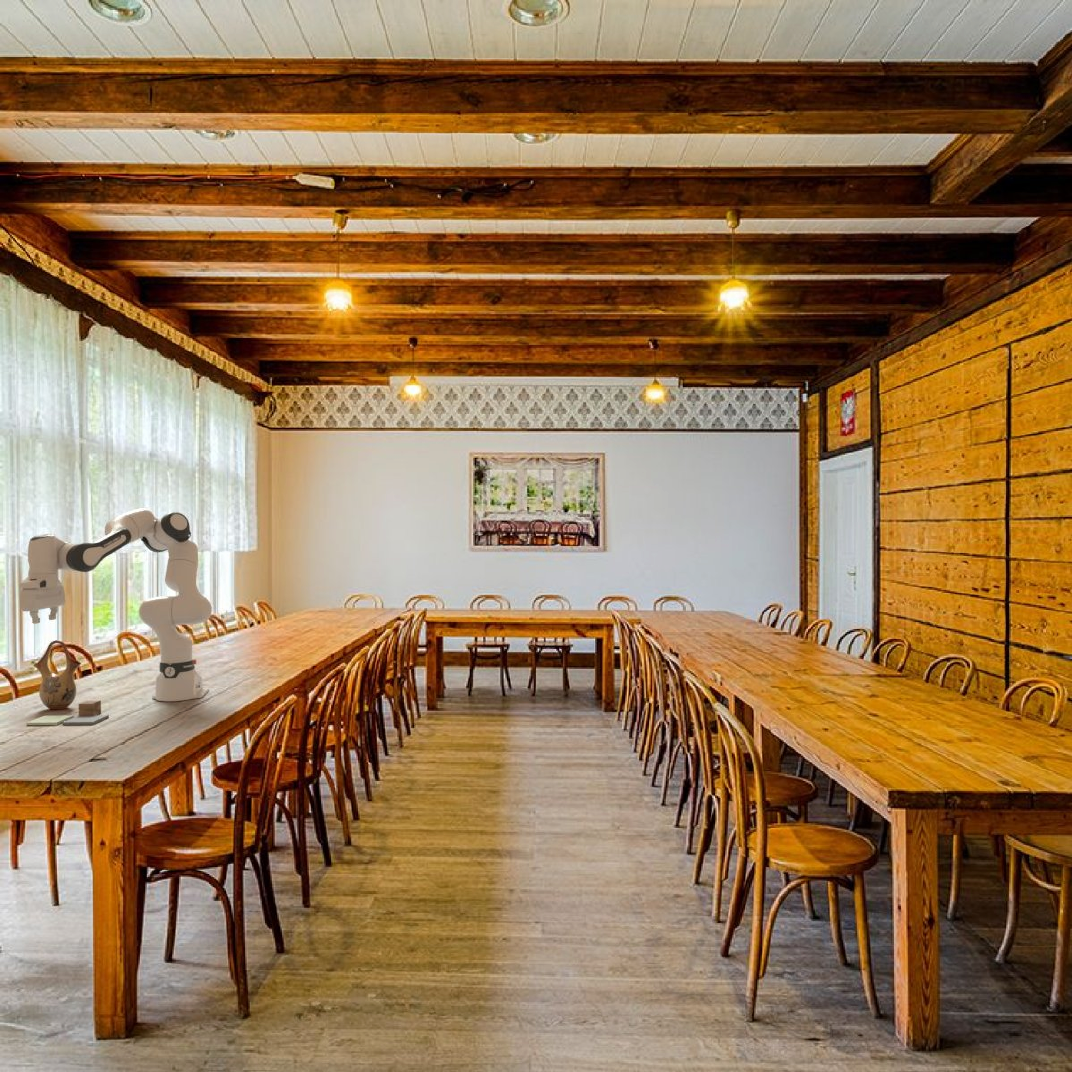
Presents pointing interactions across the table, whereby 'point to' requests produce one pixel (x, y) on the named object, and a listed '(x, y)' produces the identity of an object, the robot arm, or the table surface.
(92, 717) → the pad
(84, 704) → the walnut block
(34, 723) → the pad
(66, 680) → the ceramic vessel
